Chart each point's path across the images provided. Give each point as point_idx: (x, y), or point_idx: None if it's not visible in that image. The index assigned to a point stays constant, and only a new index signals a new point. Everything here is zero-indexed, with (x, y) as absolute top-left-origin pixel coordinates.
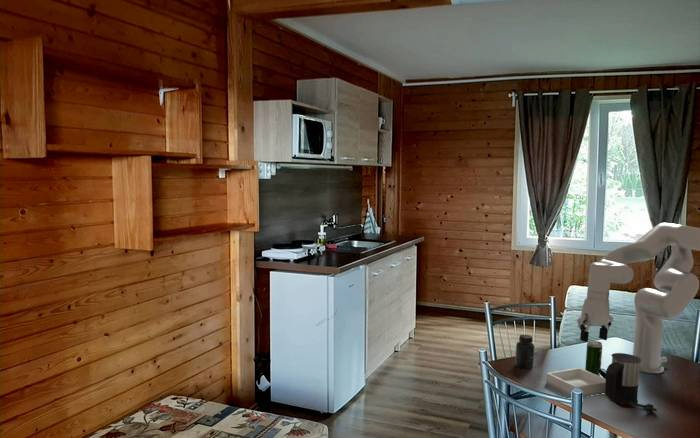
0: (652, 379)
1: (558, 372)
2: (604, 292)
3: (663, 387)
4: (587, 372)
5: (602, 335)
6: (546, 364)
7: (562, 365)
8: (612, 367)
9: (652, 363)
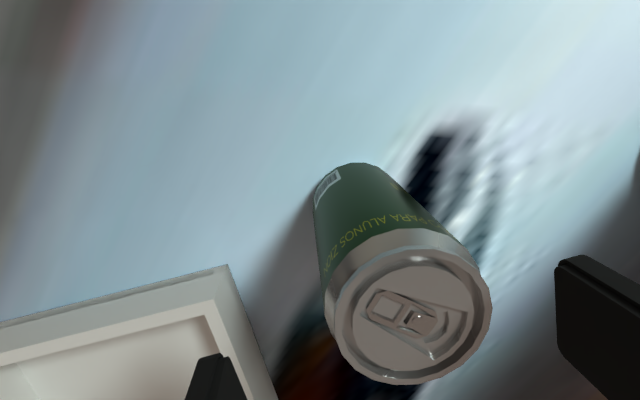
0: None
1: (29, 357)
2: None
3: (571, 381)
4: None
5: (597, 344)
6: (112, 10)
7: (229, 45)
8: None
9: None
